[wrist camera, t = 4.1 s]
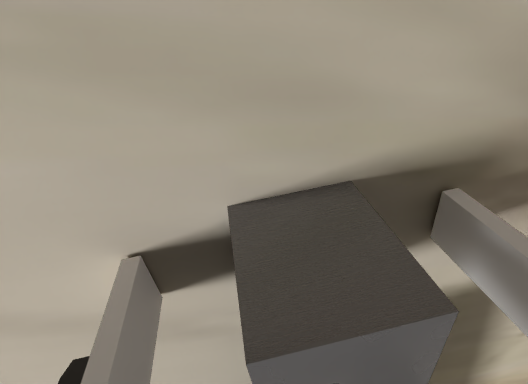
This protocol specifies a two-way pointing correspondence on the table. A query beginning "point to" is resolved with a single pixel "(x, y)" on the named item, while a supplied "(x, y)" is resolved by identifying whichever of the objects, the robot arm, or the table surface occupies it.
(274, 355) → the block
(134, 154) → the table surface
